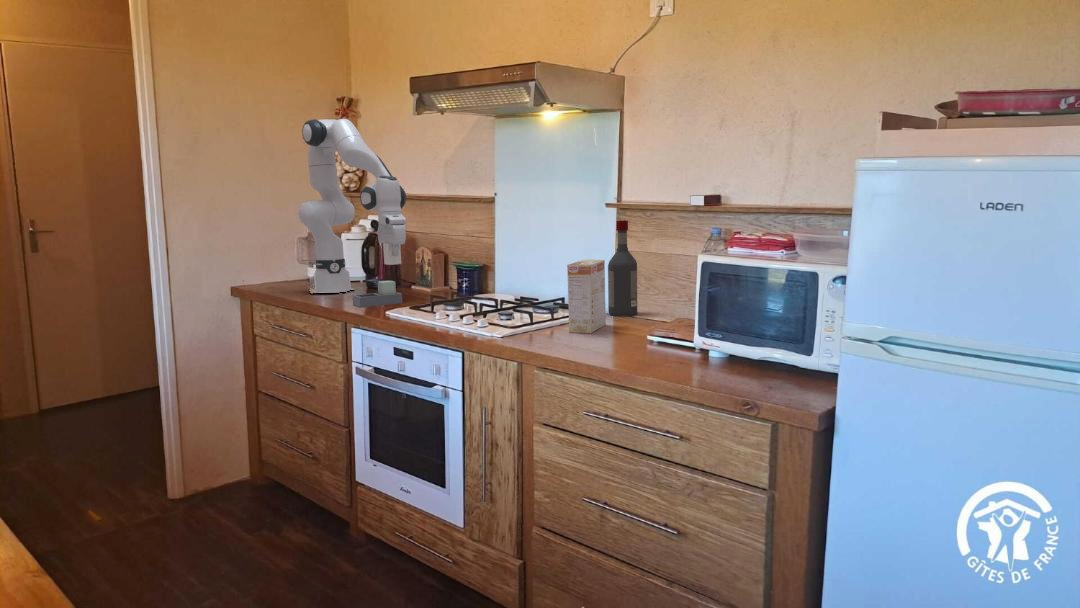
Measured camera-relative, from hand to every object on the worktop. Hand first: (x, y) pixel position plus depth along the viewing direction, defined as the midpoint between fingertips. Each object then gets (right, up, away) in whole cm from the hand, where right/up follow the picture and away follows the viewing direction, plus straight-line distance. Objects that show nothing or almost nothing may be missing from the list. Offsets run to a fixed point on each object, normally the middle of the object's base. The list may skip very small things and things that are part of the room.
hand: (392, 255), depth 287 cm
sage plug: (0, -18, -7) cm, 19 cm away
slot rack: (-4, -19, -9) cm, 21 cm away
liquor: (+83, -22, -43) cm, 96 cm away
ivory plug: (0, -3, 0) cm, 3 cm away
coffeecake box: (+70, -26, -68) cm, 101 cm away
